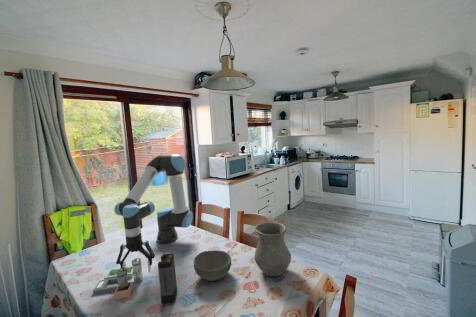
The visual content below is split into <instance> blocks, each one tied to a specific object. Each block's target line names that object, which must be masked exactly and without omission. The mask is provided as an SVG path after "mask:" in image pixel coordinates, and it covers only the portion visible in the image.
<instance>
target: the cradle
mask: <svg viewBox="0 0 476 317" xmlns="http://www.w3.org/2000/svg"><path fill="white" fill-rule="evenodd" d="M97 282H98V283H97V284H96V285H95V287H94V289H93V290H92V293H93V295H99V294H103V293H105V294H106V293H109V292H115V291H116V289H117V287H118V285H112V286H109V285H110V284H113V283H118V279H117V278H111V279H105V280H104V279H101V280H98V281H97Z"/></svg>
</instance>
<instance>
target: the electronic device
mask: <svg viewBox="0 0 476 317" xmlns="http://www.w3.org/2000/svg"><path fill="white" fill-rule="evenodd" d="M174 255H175V254H174V253H170V252H169V253H164V254H162V255H161V257H160V261H159V262H158V263H157V269H158V270H157V271H158V278H159V288H160V289H159V290H160V300H161V304H162V305H163V306H169V305H173V304H174V303H175V302H176V298H177V295H178V285H177V274H176V265H175V264H176V263H175V256H174Z"/></svg>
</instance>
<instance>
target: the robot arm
mask: <svg viewBox="0 0 476 317" xmlns="http://www.w3.org/2000/svg"><path fill="white" fill-rule="evenodd" d="M185 169H186V161H185V158H184V157H183V156H182V155H180V154H160V155H157V156H156V157H154V158H152V159H151V160H150V161H149V162H148V164H146V166H145V167H144V171H143V173H142V174H141V175H140V177H139V179H138V180H137V181H136V183H135V184H134V186H133V187H132V189H130V191H129V193H128V194H127V195H126V197H125V199H124V200H123V201H121V202H118V203H116V205H115V206H114V208H113V210H114V213H115V215H117V216H121V217H122V219H123V225H124V226H123V227H124V233H125V242H126V244H124V243H122V244H121V245H120V246H119V254H118V256H117V259H116V261H115V264H116V265H120V268H126V267H127V264H126V261H125V260H127V257H128V256H129V255H130V253H135V252H137V253H138V252H140V253H141V254H142V255H143V256H144V257H145V258H146V259H147V270H148V273H151V271H152V265H153V259H155V258H156V253H155V252H154V250H153V248H152V247H151V245H150V242H149V240H146V241H143V239H142V238H143V237H142V227H141V220H143V219H145V218H146V217H148V216H150V215H152V214H153V213H154V212H155V210H156V208H155V207H156V206H155V204H154V203H153V201H144V202H142V203H141V202H140V200H141V199H142V198H143V196H144V194H145V193H146V191H147V189H148V188H149V186H150V185H151V183H152V182H153V180H154V179H155V177H157V176H159V174H160V173H161V172H165V175H166V177H167V178H168V179H169V186H170V187H169V188H170V192H171V199H172V204H173V206H172V207H166V208H162V209H160V210H158V211H157V213H156V219H157V229H158V231H157V236H156V242H157V243H158V244H163V245H164V244H170V243H173V242H175V241H176V240H178V238H179V236H178V232H177V231H176V228H184V229H185V228H186V229H187V228H189V227H190V226H191V224H192V222H193V218H194V216H193V215H194V214H193V212H192V211H191V210H189V207H188V206H187V204H186V198H185V191H184V184H183V178H182V176H183V173H184V171H185ZM143 246H144V247H143ZM145 248H146V249H145ZM125 249H127V251H126V253H125V255H124V256H123V253H124V250H125ZM122 256H123V258H122ZM121 259H122V260H121Z"/></svg>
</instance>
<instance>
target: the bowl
mask: <svg viewBox="0 0 476 317" xmlns="http://www.w3.org/2000/svg"><path fill="white" fill-rule="evenodd" d="M231 266H232V257H231V254H229V253H228V252H226V251H223V250H218V249H217V250H216V249H215V250H203V251H202V252H200V253H198V254H196V256H195V257H194V260H193V268H194V271H195V274H197V276H199V278H201V279H203V280H205V281H209V282H211V281H213V282H214V281H218V280H221V279H222V278H224V277H225V276H227V274H228V273H229V271H230V269H231Z"/></svg>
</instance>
